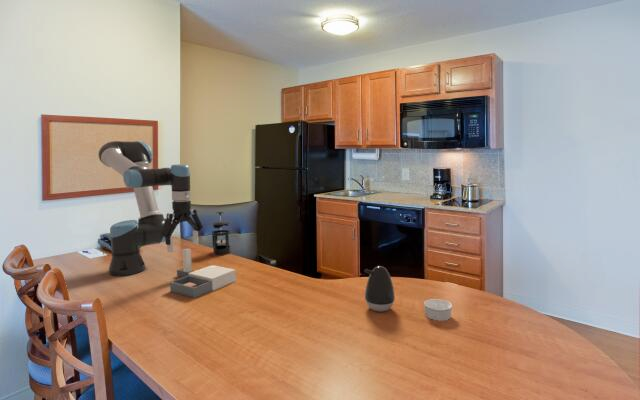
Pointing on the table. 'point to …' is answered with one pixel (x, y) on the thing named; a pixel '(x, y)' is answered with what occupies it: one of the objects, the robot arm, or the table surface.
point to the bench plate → (216, 275)
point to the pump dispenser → (379, 289)
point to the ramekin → (438, 309)
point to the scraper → (185, 264)
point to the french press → (221, 248)
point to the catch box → (192, 292)
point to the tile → (190, 284)
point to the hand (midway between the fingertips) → (183, 248)
